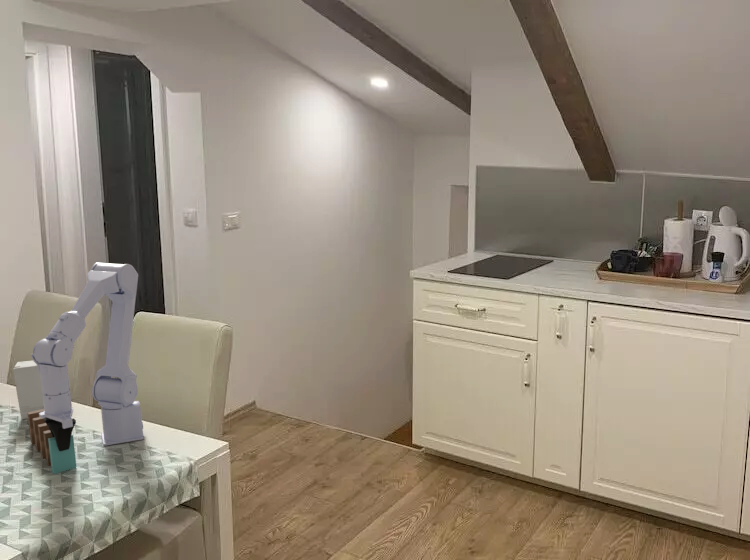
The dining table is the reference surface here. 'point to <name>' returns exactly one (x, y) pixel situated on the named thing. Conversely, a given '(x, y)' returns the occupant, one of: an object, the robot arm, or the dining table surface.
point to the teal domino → (61, 456)
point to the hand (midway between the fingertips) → (62, 448)
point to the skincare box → (28, 387)
